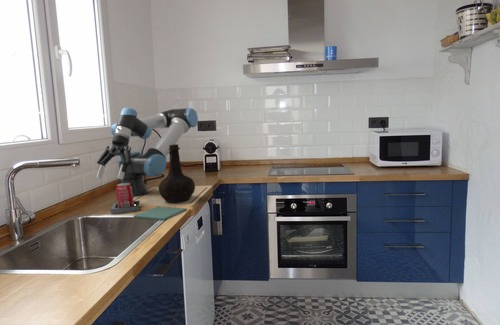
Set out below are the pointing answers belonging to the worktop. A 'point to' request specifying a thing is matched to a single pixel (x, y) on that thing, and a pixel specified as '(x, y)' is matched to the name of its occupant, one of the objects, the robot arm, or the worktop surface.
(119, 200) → the soda can
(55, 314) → the worktop surface
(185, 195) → the glass bottle
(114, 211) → the gray square tray
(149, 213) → the mat
